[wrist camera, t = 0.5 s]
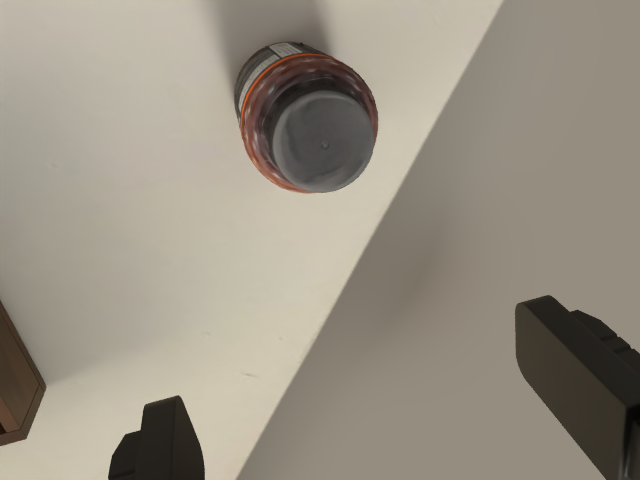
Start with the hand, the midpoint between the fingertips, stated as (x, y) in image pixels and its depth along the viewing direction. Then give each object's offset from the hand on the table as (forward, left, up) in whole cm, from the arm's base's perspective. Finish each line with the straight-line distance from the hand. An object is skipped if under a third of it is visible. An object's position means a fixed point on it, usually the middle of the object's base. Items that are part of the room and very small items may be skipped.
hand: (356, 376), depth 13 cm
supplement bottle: (-2, +2, -22) cm, 22 cm away
